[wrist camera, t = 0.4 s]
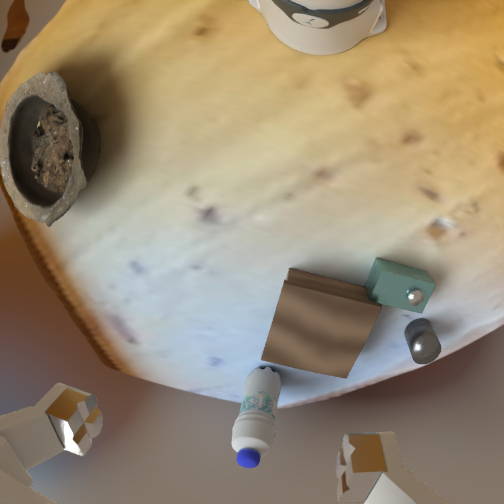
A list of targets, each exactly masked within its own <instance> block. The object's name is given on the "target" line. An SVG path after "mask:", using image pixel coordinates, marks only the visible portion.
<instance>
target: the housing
mask: <svg viewBox="0 0 504 504" xmlns="http://www.w3.org/2000/svg"><path fill="white" fill-rule="evenodd" d="M434 287H435V283H434V282H433V280H432V279H431V277H430V276H429V274H428V273H427V272H426V271H422V270H419V269H415V268H412V267H408V266H405V265H401V264H397V263H394V262H390V261H387V260H383V259H379V258H376V259H375V261H374V264H373V267H372V269H371V272H370V275H369V277H368V280H367V282H366V285H365V289H366V293H367V296H368V299H369V301H373V302H377V303H381V304H383V305H387V306H391V307H396V308H400V309H404V310H409V311H413V312H417V313H422V312H423V310H424V308H425V306H426V304H427V302H428V300H429V298H430V296H431V294H432V291H433V289H434Z"/></svg>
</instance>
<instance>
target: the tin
mask: <svg viewBox="0 0 504 504" xmlns="http://www.w3.org/2000/svg"><path fill="white" fill-rule="evenodd" d="M404 335H405V338H406V341H407V344H408V346H409V349H410V352H411V355H412V358H413V360H414V361H415V362H416V363H418V364H427V363H430V362H432V361H433V360H435V359H436V358H437V357H438V355H439V354H440V352H441V344H440V342H439V340H438V338H437V336H436V334H435V332H434V330H433V328H432V326H431V324H430V322H429V321H428V320H427V319H423V318H419V319H415V320H413V321H412V322H410V323H409V324H408V325H407V327H406V329H405V332H404Z"/></svg>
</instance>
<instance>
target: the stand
mask: <svg viewBox="0 0 504 504" xmlns="http://www.w3.org/2000/svg"><path fill="white" fill-rule="evenodd" d="M381 308H382V306H381V303H377V302H373V301H369V299H368V296H367V293H366V289H365V287H362V286H358V285H354V284H350V283H347V282H343V281H339V280H335V279H331V278H327V277H323V276H319V275H315V274H311V273H307V272H303V271H299V270H295V269H291V268H289V271H288V275H287V278H286V280H284V284H283V287H282V291H281V294H280V297H279V301H278V304H277V308H276V311H275V314H274V318H273V321H272V324H271V328H270V331H269V334H268V338H267V341H266V344H265V348H264V351H263V354H262V358H261V360H263V361H267V362H271V363H275V364H279V365H284V366H288V367H292V368H297V369H301V370H306V371H311V372H315V373H320V374H325V375H330V376H335V377H341V378H347V376H348V375H349V373H350V371H351V369H352V367H353V365H354V363H355V361H356V359H357V357H358V356H359V354H360V352H361V350H362V348H363V346H364V344H365V342H366V340H367V338H368V336H369V334H370V331H371V329H372V327H373V325H374V323H375V321H376V319H377V317H378V314H379V312H380V310H381Z"/></svg>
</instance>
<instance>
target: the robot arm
mask: <svg viewBox="0 0 504 504" xmlns="http://www.w3.org/2000/svg"><path fill="white" fill-rule="evenodd" d="M248 1H249V3H250V5H251V6H253V7H254V8H255V9H256V10H257V11H259V12H260V13H261V14H262V15H263V17H264V18H265V20H266V22H267V24H268V26H269V28H270V30H271V31H272V32H273V34H274V35H275V36H276V37H277V38H278V39H279V40H281V41H282V42H283V43H285V44H286V45H288V46H289V47H291V48H293V49H295V50H298V51H301V52H304V53H308V54H313V55H332V54H337V53H341V52H344V51H346V50H348V49H350V48H352V47H354V46H355V45H356V44H358V43H359V42H360V41H361V40H363V39H364V38H366V37H368V36H373V35H377V34H380V33H383V32H384V31H385V29H386V26H387V22H386V7H385V0H248ZM379 18H380V19H379ZM97 404H98V402H97V399H96V396H94V395H92V394H89V393H86V392H83V391H81V390H78V389H75V388H73V387H70V386H67V385H64V384H62V383H58V384H56V385H55V386H54V387H53V388H52V389H51V390H50V391H49V392H48V393H47V394H46V395H45V396H44V397H43V398H42V399H41V400H40V401H39V402H38V404H37V405H36V406H35V407H34V408H33V407H31V406H30V407H27V408H24V409H21V410H18V411H15V412H12V413H9V414H6V415H3V416H0V504H58V503H56V502H54V501H52V500H50V499H49V498H47V497H45V496H43V495H41V494H40V493H38V492H36V491H35V490H33V489H31V488H30V486H31V485H32V483H33V479H32V477H31V476H30V475H29V473H28V472H27V469H30V468H32V467H34V466H36V465H37V464H39V463H41V462H43V461H45V460H47V459H49V458H51V457H53V456H55V455H56V454H58V453H60V452H62V451H64V449H66V450H68V451H71V452H73V453H76V454H78V455H81V456H84V455H85V454H86V452H87V451H88V449H89V448H90V446H91V445H92V442H91V439H92V438H94V437H96V436H98V434H99V433H100V431H101V429H102V425H103V417H102V414H101V412H100V411H99V409H98V408H97V407H96V405H97ZM336 476H337V477H338V478H339V479H340V481H339V483H338V485H337V499H338V503H362V502H363V503H364V504H450V503H449V502H447V501H446V500H445V499H444V498H443V497H441V496H440V495H439V494H438V493H436V492H435V491H434V490H433V489H431V488H430V487H429V486H428V485H426V484H425V483H424V482H423V481H422V480H420V479H419V478H418V477H417V476H416V475H414V474H413V473H412V472H411V471H410V470H404V467H403V463H402V459H401V455H400V452H399V448H398V444H397V441H396V437H395V434H394V433H393V432H378V433H376V432H372V433H346V434H345V436H344V438H343V448H341V449H340V450H339V453H338V456H337V461H336Z"/></svg>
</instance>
